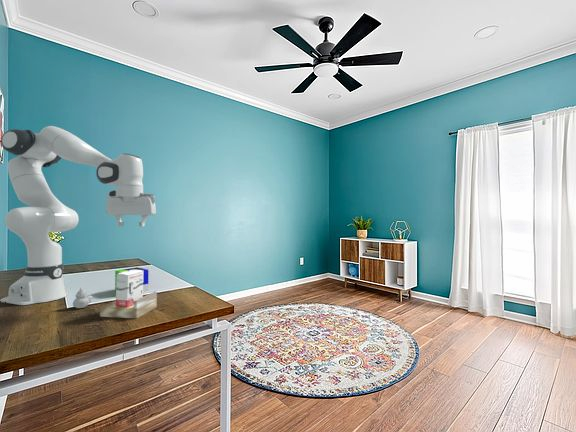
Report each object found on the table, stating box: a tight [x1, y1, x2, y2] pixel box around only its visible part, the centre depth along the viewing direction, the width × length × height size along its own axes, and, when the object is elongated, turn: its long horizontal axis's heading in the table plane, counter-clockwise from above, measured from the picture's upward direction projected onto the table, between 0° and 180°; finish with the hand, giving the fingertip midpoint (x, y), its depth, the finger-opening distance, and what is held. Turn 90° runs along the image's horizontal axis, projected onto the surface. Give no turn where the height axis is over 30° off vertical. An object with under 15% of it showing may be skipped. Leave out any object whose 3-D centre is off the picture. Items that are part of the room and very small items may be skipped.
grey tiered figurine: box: [72, 287, 93, 309], centre depth 109 cm, size 5×7×8 cm
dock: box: [99, 291, 158, 319], centre depth 104 cm, size 14×12×6 cm
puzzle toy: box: [114, 267, 149, 293], centre depth 131 cm, size 10×10×10 cm
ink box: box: [115, 270, 144, 307], centre depth 104 cm, size 9×5×12 cm, turn 170°
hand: (131, 226), depth 117 cm, fingers open, 8 cm apart
